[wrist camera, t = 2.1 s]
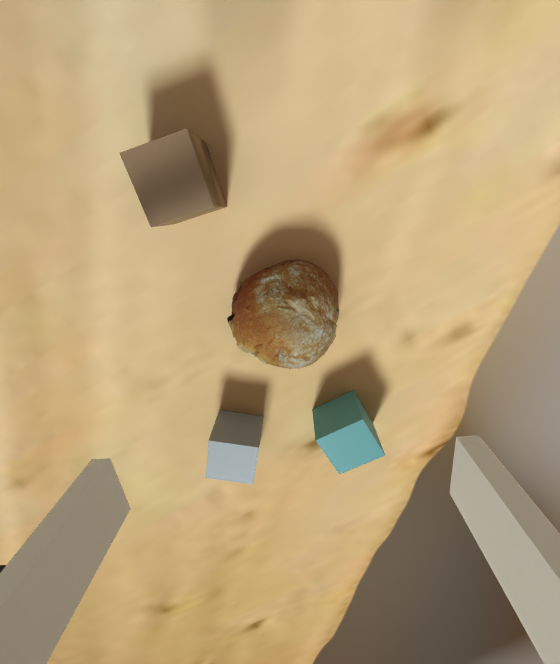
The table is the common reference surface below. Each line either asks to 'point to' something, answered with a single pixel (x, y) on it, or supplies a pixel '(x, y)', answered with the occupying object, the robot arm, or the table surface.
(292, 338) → the bread roll
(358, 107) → the table surface
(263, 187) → the table surface
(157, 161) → the walnut block
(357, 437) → the dark teal block
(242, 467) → the slate grey block
